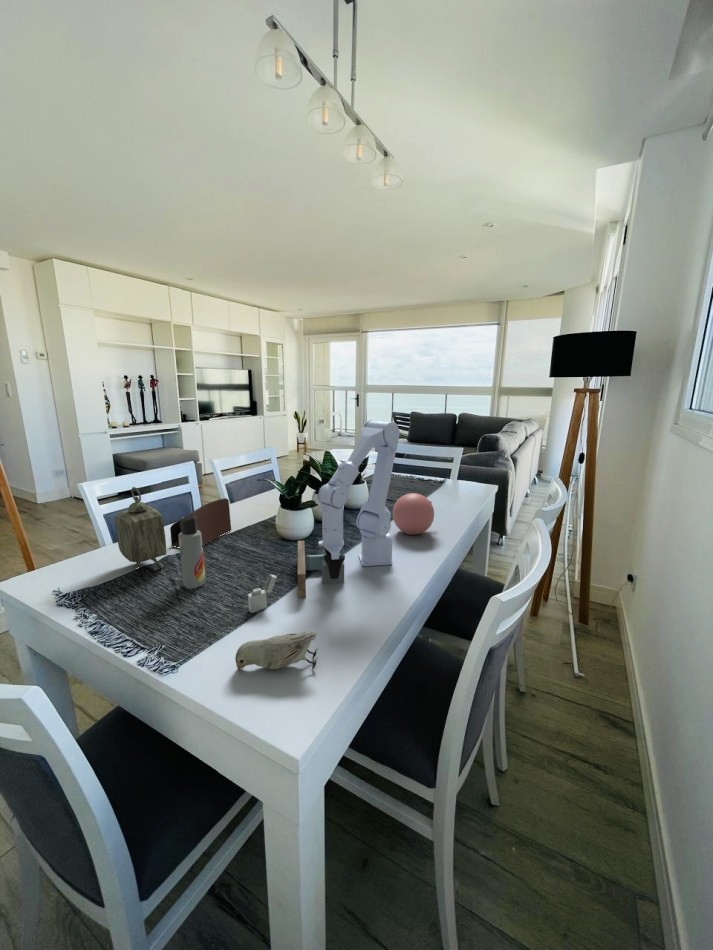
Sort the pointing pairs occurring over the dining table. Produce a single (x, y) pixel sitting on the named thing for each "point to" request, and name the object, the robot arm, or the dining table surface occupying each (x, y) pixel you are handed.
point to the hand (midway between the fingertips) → (333, 571)
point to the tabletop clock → (140, 532)
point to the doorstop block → (327, 576)
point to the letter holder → (207, 521)
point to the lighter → (261, 595)
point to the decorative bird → (276, 651)
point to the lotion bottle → (191, 553)
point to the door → (314, 561)
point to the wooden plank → (301, 570)
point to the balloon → (413, 513)
